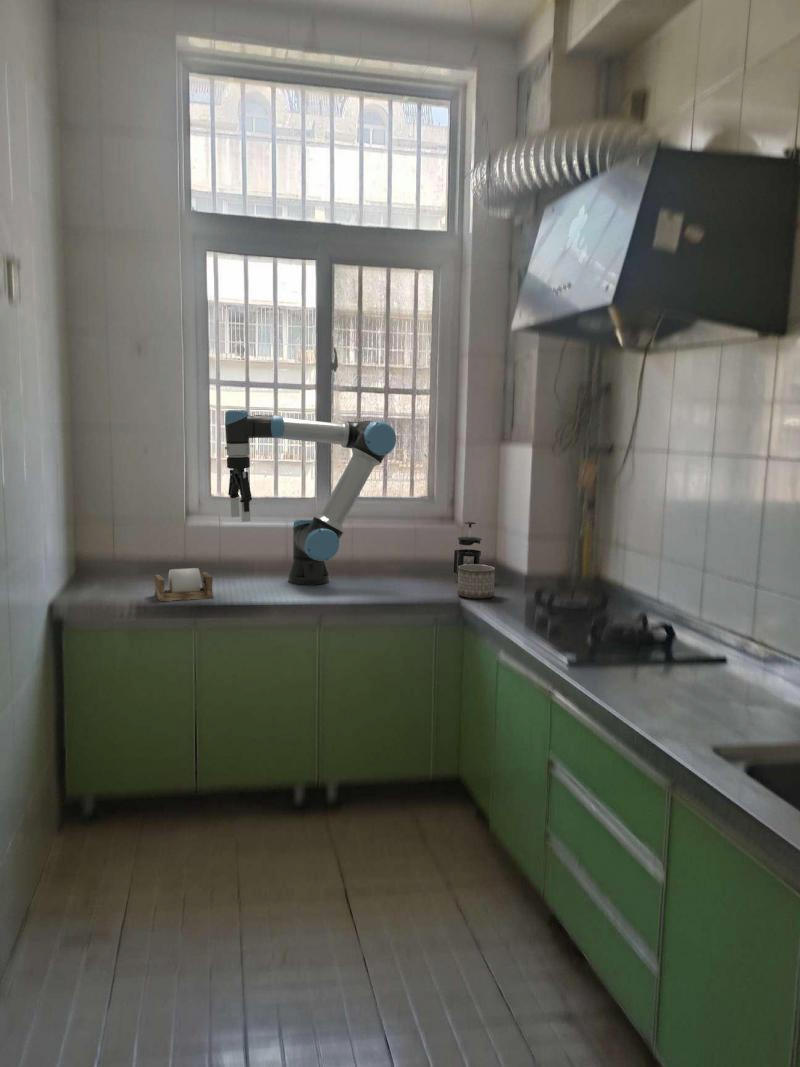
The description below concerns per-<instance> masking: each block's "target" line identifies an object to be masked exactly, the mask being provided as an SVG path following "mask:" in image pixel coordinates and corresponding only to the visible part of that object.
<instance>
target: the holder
mask: <svg viewBox="0 0 800 1067" xmlns="http://www.w3.org/2000/svg"><path fill="white" fill-rule="evenodd" d="M155 595H156V596H157V597H156V596H155ZM154 596H155V597H156V599H157V600H158V599H159V600H160V601H168V602H173V601H172V600H182V601H191V600H190V599H197V600H207V599H209V600H210V599H214V595H213V576H212V575H211V574H210V573H208V572H207V571H203V572H201V588H200V591H194V592H179V593H170V590H169V589H165V579H164V577H162V576H161V575H160V574H154ZM159 600H158V601H159ZM160 601H159V602H160Z"/></svg>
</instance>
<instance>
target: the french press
mask: <svg viewBox="0 0 800 1067" xmlns="http://www.w3.org/2000/svg"><path fill="white" fill-rule="evenodd" d="M476 523H477V522H474V521H466V522H464V524H466V525H468V528H469V529H468V530H469V532H468V533H469V535H468V536H459V537H457V540H458V544H459V545H460V546H468V548H463V549H455V550H454V551H453V552H454V553H453V554H454V555H453V558H454V559H453V573H455V574H456V575H455V581H454V582H455V583H456V584H458V566H460V565H466V564H471V563H470V557H471V558H472V557H473V564H479V565H480V556H481V555H482V553H481V552H482V551H481V550H478V549H470V548H471V547H470V546H472V545H473V544H479V545H480V544H481V541H482V537H477V536H476V537H475V536H471V528H472V526H473V525H476ZM465 557H468V559H467V563H464V560H465V559H464V558H465Z"/></svg>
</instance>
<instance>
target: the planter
mask: <svg viewBox="0 0 800 1067" xmlns="http://www.w3.org/2000/svg"><path fill="white" fill-rule="evenodd" d="M465 564H466V565H460V566H457V571H458V583H457V593H456V594H457V595H459V596H461V597H465V598H467V597H470V598H469V599H471V598H483V599H486V598H487V599H488V598H492V597H493V596H494V594H495V574H496V568H495V567H494V566H491V565H487V564H480V563H479V564H474V563H473V564H472V563H470V564H467V563H465Z"/></svg>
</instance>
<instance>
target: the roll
mask: <svg viewBox="0 0 800 1067" xmlns="http://www.w3.org/2000/svg"><path fill="white" fill-rule="evenodd" d="M200 588H202V575H201V572H200V569H199V567H195V568H194V567H191V568H173V569H171V568H170V569H169V571H168V590H170V593H179V592H194V591H200Z"/></svg>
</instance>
